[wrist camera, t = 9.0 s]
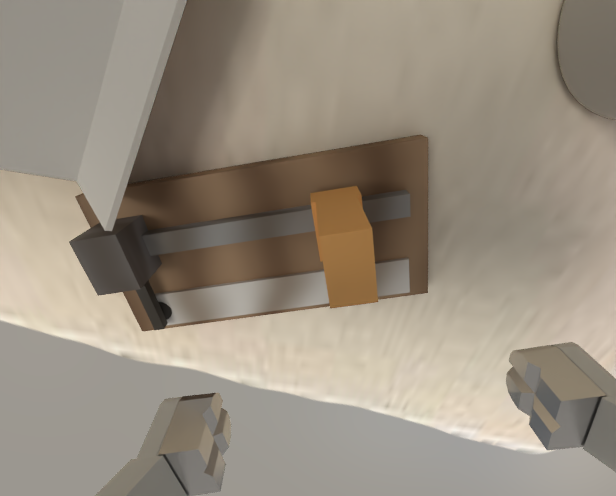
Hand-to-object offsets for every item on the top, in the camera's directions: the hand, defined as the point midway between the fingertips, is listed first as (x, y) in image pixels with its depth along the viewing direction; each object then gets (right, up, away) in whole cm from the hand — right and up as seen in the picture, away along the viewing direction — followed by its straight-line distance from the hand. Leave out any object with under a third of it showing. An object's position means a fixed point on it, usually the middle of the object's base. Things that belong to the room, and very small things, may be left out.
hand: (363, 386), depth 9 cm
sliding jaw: (+1, +4, +14) cm, 15 cm away
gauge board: (-5, +4, +16) cm, 17 cm away
